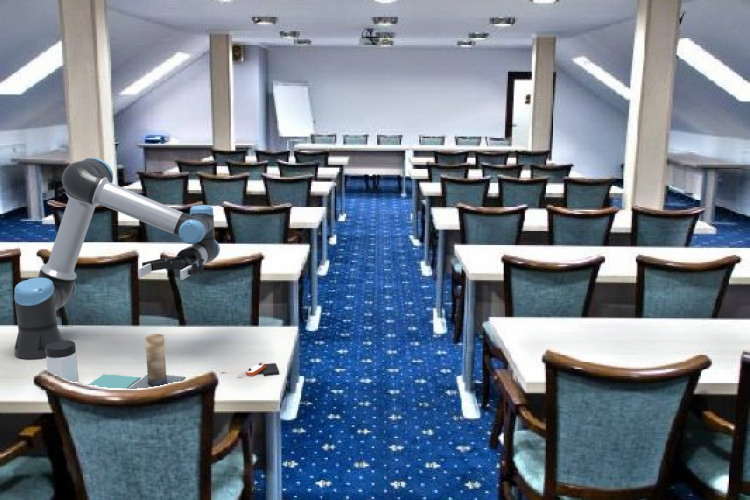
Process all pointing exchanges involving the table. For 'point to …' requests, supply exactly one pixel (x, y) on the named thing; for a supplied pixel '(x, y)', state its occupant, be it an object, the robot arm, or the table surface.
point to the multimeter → (263, 369)
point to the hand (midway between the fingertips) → (160, 274)
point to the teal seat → (114, 381)
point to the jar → (62, 359)
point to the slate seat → (144, 384)
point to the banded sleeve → (155, 360)
